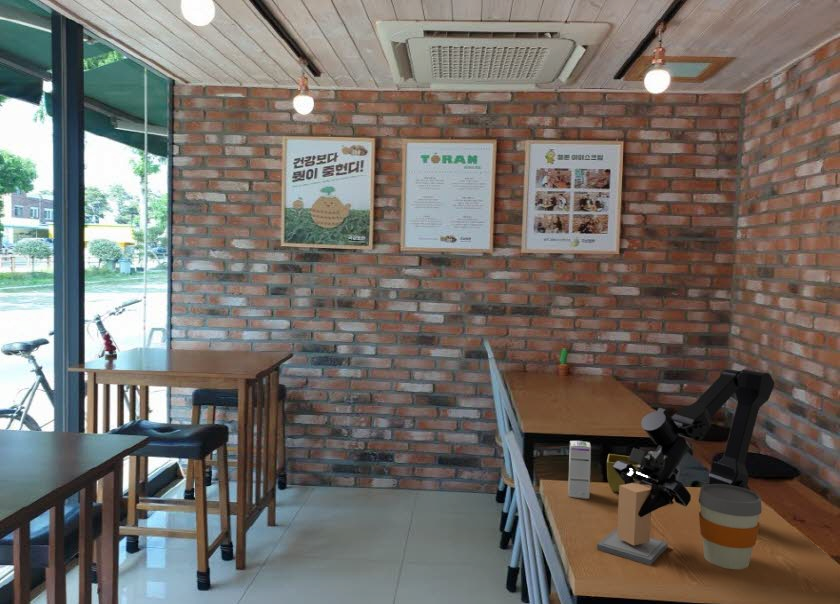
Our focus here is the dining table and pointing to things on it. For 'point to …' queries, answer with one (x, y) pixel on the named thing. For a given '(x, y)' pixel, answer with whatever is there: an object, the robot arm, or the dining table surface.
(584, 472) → the syrup box
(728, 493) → the reusable coffee cup
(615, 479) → the flower pot
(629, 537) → the block
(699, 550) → the dining table surface
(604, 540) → the plate
